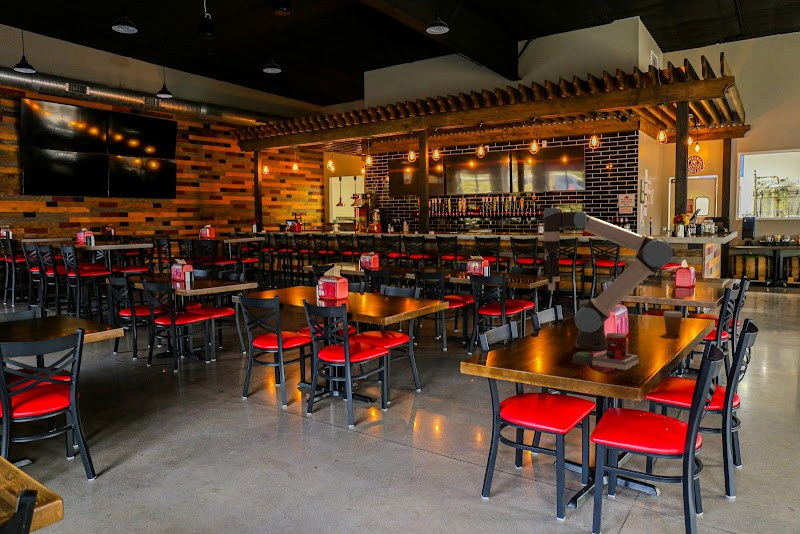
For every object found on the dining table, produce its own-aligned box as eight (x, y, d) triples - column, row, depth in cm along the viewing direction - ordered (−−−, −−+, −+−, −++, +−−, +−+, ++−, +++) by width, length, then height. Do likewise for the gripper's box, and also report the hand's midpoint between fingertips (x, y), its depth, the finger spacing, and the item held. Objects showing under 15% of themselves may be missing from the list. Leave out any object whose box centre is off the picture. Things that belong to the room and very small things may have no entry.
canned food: (603, 357, 253) (603, 332, 252) (621, 357, 253) (622, 332, 252) (609, 362, 245) (610, 336, 244) (628, 361, 245) (628, 336, 244)
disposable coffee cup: (686, 334, 308) (686, 312, 308) (676, 336, 303) (676, 314, 302) (669, 331, 316) (669, 310, 315) (659, 333, 311) (659, 311, 310)
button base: (579, 359, 258) (579, 352, 258) (594, 362, 253) (594, 354, 253) (571, 362, 253) (571, 355, 252) (587, 365, 248) (587, 357, 248)
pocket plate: (606, 358, 259) (606, 350, 259) (638, 363, 250) (638, 355, 249) (592, 364, 249) (592, 356, 248) (625, 370, 239) (625, 361, 239)
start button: (580, 358, 256) (580, 351, 256) (590, 359, 253) (590, 353, 253) (575, 360, 253) (575, 353, 252) (585, 361, 249) (585, 355, 249)
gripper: (551, 240, 280) (551, 288, 282) (537, 241, 271) (537, 290, 273) (565, 240, 275) (565, 289, 277) (552, 241, 266) (552, 291, 268)
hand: (551, 289), depth 275 cm, fingers closed
